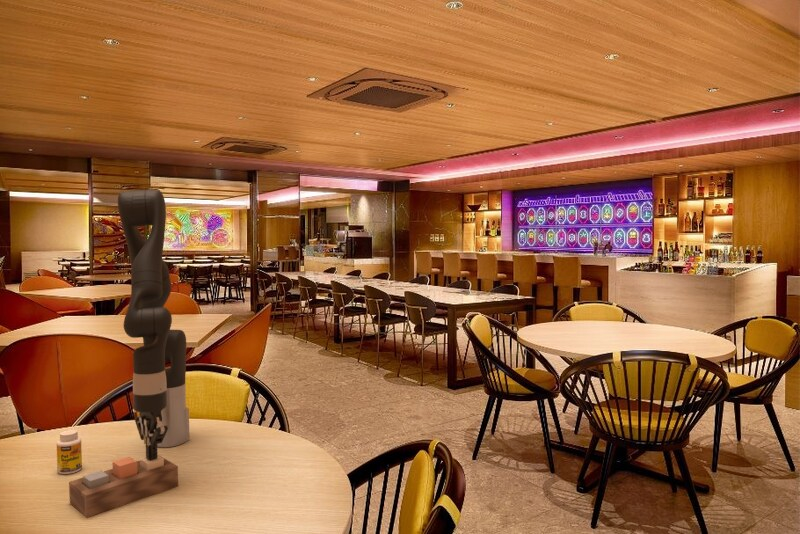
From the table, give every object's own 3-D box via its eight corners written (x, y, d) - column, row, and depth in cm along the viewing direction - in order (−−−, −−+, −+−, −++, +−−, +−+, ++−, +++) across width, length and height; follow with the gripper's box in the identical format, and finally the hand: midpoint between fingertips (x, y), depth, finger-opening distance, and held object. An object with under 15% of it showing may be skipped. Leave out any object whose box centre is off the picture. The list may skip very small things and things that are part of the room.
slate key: (102, 487, 136) (101, 470, 135) (109, 492, 133) (108, 475, 133) (83, 492, 133) (83, 475, 132) (90, 498, 130) (89, 481, 130)
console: (158, 474, 149) (158, 455, 149) (178, 485, 142) (177, 465, 142) (69, 502, 133) (68, 481, 133) (86, 517, 127) (85, 495, 126)
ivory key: (156, 469, 145) (156, 454, 145) (164, 474, 143) (163, 458, 142) (140, 474, 142) (140, 459, 142) (148, 479, 140) (147, 463, 139)
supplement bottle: (58, 477, 147) (56, 437, 146) (56, 469, 152) (55, 431, 151) (83, 472, 150) (81, 433, 149) (81, 464, 155) (79, 427, 154)
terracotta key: (130, 472, 140) (129, 456, 140) (137, 477, 138) (136, 461, 137) (112, 478, 137) (112, 461, 137) (120, 483, 135) (119, 466, 134)
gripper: (178, 391, 139) (179, 461, 141) (152, 381, 148) (154, 447, 149) (147, 398, 134) (149, 471, 135) (122, 387, 143) (124, 456, 144)
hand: (151, 458), depth 142 cm, fingers closed
